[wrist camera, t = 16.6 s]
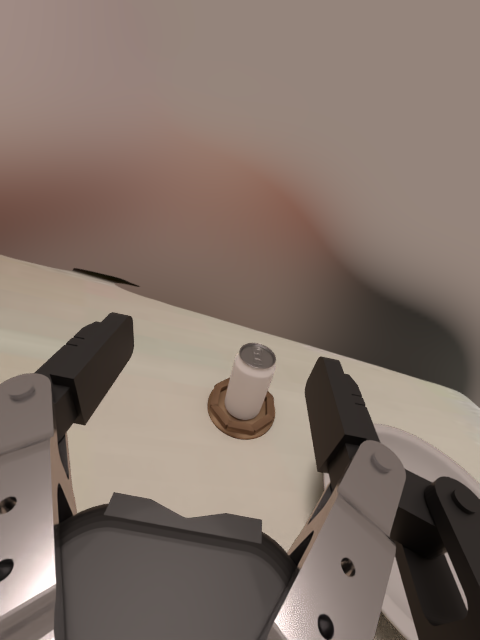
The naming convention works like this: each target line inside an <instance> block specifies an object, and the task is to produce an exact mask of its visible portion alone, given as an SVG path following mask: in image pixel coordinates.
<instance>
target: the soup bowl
mask: <svg viewBox="0 0 480 640" xmlns="http://www.w3.org/2000/svg"><path fill="white" fill-rule="evenodd" d="M373 425H374V427H375V430H376V432H377V435H378V437H379V440H380V442H381V443H382V444H384V445H385V446H387V447H388V448H389V449H391V450H392V451H393V452H394V453H395V454H396V455H397V457H398V458H399V459H400V461H401V462H402V464H403V466H404V468H405V469H407V470H408V471H410V472H412V473H414V474H416V475H418V476H420V477H422V478H424V479H426V480H428V481H430V482H434V481H435V480H436V479H438V478H439V477H442V476H446V477H450V478H453V479H455V480H457V481H459V482H461V483H462V484H464V485H465V486H467V487H468V488H469V489H470V490H471V491H472V492H473V493H474V494H475V495H476V496H477V497H478V498H479V499H480V484H479V483H478V482H477V481H476V480H475V479H474V478H473V477H472V476H471V475H470V474H469V473H468V472H467V471H466V470H465V469H463V468H462V467H461V466H460V465H459V464H457V463H456V462H455V461H454V460H452V459H451V458H450V457H449V456H447V455H446V454H444V453H443V452H442V451H440V450H439V449H437V448H436V447H434V446H433V445H431V444H429V443H428V442H426V441H424V440H422V439H421V438H419V437H417V436H415V435H413V434H410V433H408V432H406V431H403V430H401V429H398V428H395V427H391V426H387V425H382V424H373ZM329 482H330V478H329V474H328V473H323V483H324V490H325V489H326V487H327V485H328V484H329ZM445 557H446V559H447V562H448V564H449V567H450V569H451V571H452V574H453V576H454V579H455V581H456V584H457V586H458V589H459V591H460V594H461V596H462V598H463V601H464V603H465V606H466V608H467V611H468V605H467V600H466V596H465V594H464V591H463V589H462V586H461V584H460V582H459V579H458V577H457V574H456V572H455V570H454V567H453V565H452V562H451V560H450V558H449V555H448V553H445ZM381 612H382V613H383V614H384V616H385V617H386V618H387V619H388V620H389V622H390V623H391V624H392V625H393V626H394V627H395V628H396V629H397V630H398V632H399V633H400V634H401V635H402V636H403V637H404V638H405V639H406V640H418V636H417V632H416V629H415V625H414V622H413V618H412V615H411V611H410V608H409V604H408V600H407V597H406V593H405V590H404V586H403V583H402V579H401V576H400V572H399V568H398V565H397V561H396V558H394V562H393V566H392V570H391V573H390V577H389V581H388V585H387V589H386V593H385V597H384V601H383V605H382V609H381Z"/></svg>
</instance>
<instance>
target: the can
mask: <svg viewBox="0 0 480 640" xmlns="http://www.w3.org/2000/svg"><path fill="white" fill-rule="evenodd" d="M275 361H276V357H275V355H274V353H273V352H272V350H270V349H269V348H268V347H266V346H264V345H262V344H258V343H248V344H245V345H243V346H242V347H241V349H240V351H239V352H238V353H237V355H236V357H235V360H234V364H233V368H232V372H231V376H230V380H229V384H228V388H227V392H226V397H225V407H226V409H227V411H228V412H229V413H230V414H231V415H232V416H233V417H235V418H237V419H241V420H250V419H253V418H254V417H256V416H257V415H258V414H259V412H260V409H261V407H262V404H263V402H264V399H265V396H266V394H267V391H268V388H269V386H270V383H271V380H272V378H273V375H274V372H275V368H276V366H275Z"/></svg>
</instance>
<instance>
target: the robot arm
mask: <svg viewBox="0 0 480 640" xmlns="http://www.w3.org/2000/svg"><path fill="white" fill-rule="evenodd" d="M133 349H134V335H133V319H132V317H131V316H128V315H123V314H118V313H113V312H112V313H110V314H109V315H108V316H107V317H106V318H105V319H104V320H103V321H102V322H94V323H92V324H90V325H87V326H85V327H83V328H82V329H81V330H80V331H79V332H78V333H77V334H76V335H75V336H74V338H71V339H70V340H69V341H68V342H67V343H66V345H64V346H63V347H62V348H61V349H60V350H58V351H57V352H56V353H55V354H54V355H53V356H52V357H51V358H50V359H49V360H48V361H47V362H46V363H44V364H43V365H42V366H41V367H40V368H39V369H38V370H37V371H36V372H35V373H30V374H22V375H19V376H16V377H13V378H10V379H8V380H6V381H5V382H3V383H1V384H0V640H374V636H375V632H376V628H377V625H378V621H379V617H380V613H381V609H382V605H383V601H384V597H385V593H386V589H387V585H388V581H389V577H390V573H391V570H392V566H393V562H394V558H396V561H397V565H398V568H399V572H400V576H401V579H402V583H403V586H404V590H405V593H406V597H407V600H408V604H409V608H410V611H411V615H412V618H413V622H414V625H415V629H416V632H417V636H418V640H480V499H479V498H478V497H477V496H476V495H475V494H474V493H473V492H472V491H471V490H470V489H469V488H468V487H467V486H465V485H464V484H462V483H461V482H459V481H457V480H455V479H453V478H450V477H446V476H442V477H439V478H438V479H436V480H435V481H434V482H430V481H428V480H426V479H424V478H422V477H420V476H418V475H416V474H414V473H412V472H410V471H408V470H407V469H405V468H404V466H403V464H402V462H401V461H400V459H399V458H398V457H397V455H396V454H395V453H394V452H393V451H392V450H391V449H389V448H388V447H387V446H385V445H384V444H382V443H381V442H380V440H379V437H378V435H377V432H376V430H375V427H374V425H373V422H372V420H371V417H370V415H369V412H368V410H367V407H365V402H364V400H363V398H362V395H361V392H360V390H359V387H358V385H357V384H356V383H355V381H354V380H353V379H352V378H351V377H350V375H348V374H344V372H343V369H342V366H341V364H340V362H339V360H335V359H330V358H326V357H319V358H318V360H317V362H316V364H315V366H314V368H313V370H312V372H311V374H310V376H309V378H308V380H307V383H306V387H305V398H306V404H307V410H308V416H309V422H310V428H311V434H312V440H313V447H314V453H315V459H316V465H317V471H318V472H322V473H328V474H329V478H330V482H329V484H328V485H327V487H326V489H325V490H324V492H323V494H322V496H321V497H320V499H319V501H318V503H317V504H316V506H315V508H314V510H313V512H312V513H311V515H310V517H309V519H308V520H307V522H306V524H305V526H304V527H303V529H302V531H301V532H300V534H299V535H298V537H297V538H296V539H295V541H294V542H293V544H292V546H291V547H290V549H289V550H288V552H287V553H286V551H285V550H284V549H283V548H282V547H281V546H280V545H279V544H278V543H277V542H276V541H275V540H273V539H272V538H271V537H269V536H268V535H267V534H265V533H263V532H262V520H260V519H254V518H249V517H244V516H238V515H233V514H228V513H224V514H216V515H209V516H201V517H193V518H185V517H182V516H180V515H179V514H177V513H175V512H173V511H171V510H170V509H168V508H166V507H164V506H162V505H160V504H159V503H157V502H155V501H153V500H151V499H147V498H142V497H136V496H131V495H126V494H120V493H115V492H114V493H113V496H112V498H111V500H110V502H109V504H103V505H99V506H95V507H92V508H89V509H86V510H84V511H81V512H79V513H77V509H76V502H75V497H74V493H73V487H72V479H71V469H70V458H69V448H68V437H67V431H68V429H69V428H70V427H71V425H72V424H73V423H76V424H81V425H86V423H87V422H88V420H89V419H90V417H91V416H92V414H93V413H94V411H95V410H96V408H97V407H98V405H99V404H100V402H101V401H102V399H103V398H104V396H105V395H106V393H107V392H108V390H109V389H110V388H111V386H112V385H113V383H114V382H115V380H116V379H117V377H118V376H119V374H120V373H121V371H122V370H123V368H124V367H125V365H126V364H127V362H128V361H129V359H130V358H131V355H132V353H133ZM445 553H448V555H449V558H450V560H451V562H452V565H453V567H454V570H455V572H456V574H457V577H458V579H459V582H460V584H461V586H462V589H463V591H464V594H465V596H466V600H467V605H468V611H467V608H466V606H465V603H464V601H463V598H462V596H461V594H460V591H459V589H458V586H457V584H456V581H455V579H454V576H453V574H452V571H451V569H450V567H449V564H448V562H447V559H446V557H445Z"/></svg>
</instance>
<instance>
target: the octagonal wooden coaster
mask: <svg viewBox="0 0 480 640" xmlns="http://www.w3.org/2000/svg"><path fill="white" fill-rule="evenodd" d="M229 380H230V378H228V379H226V380H224V381H222V382H220V383H218V384H216V385H215V386H214V389H213V390H212V392H211V394H210V396H209V400H208V413H209V416H210V418H211V420H212V422H213V423H214V424H215V426H216V427H217V428H218V429H219V430H221V431H222V432H223V433H225V434H227V435H229V436H231V437H234V438H238V439H254V438H257V437H260V436H262V435H263V434H265V433H266V432H267V431H268V430H269V429H270V427H271V426H272V424H273V421H274V418H275V407H274V397H273V396H272V395H271V394H270V393H269V392H268V391H267V394H266V396H265V399H264V402H263V404H262V407H261V409H260V412H259V414H258V415H257V416H256V417H254V418H253V419H250V420H241V419H237V418H235V417H233V416H232V415H231V414H230V413H229V412H228V411H227V409H226V407H225V397H226V392H227V388H228V384H229Z"/></svg>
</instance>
